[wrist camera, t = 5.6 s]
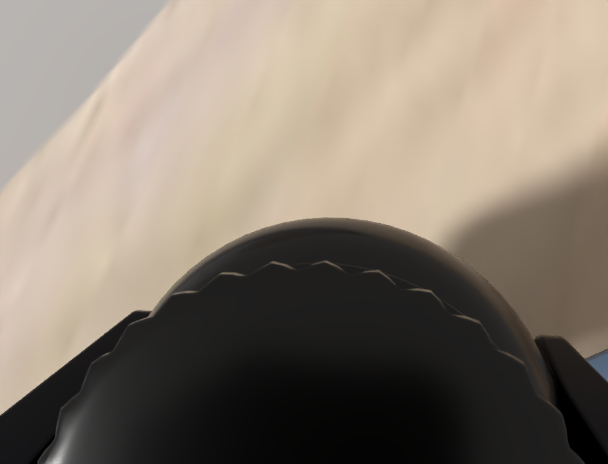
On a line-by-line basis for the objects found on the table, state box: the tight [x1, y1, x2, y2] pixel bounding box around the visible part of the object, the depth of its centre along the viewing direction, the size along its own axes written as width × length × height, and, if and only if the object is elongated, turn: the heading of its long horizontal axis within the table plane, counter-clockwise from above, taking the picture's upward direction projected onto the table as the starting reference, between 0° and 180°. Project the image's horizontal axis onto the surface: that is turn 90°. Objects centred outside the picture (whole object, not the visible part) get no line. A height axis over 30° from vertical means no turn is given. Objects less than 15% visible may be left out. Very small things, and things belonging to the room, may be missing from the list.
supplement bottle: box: [38, 218, 585, 464], centre depth 10 cm, size 7×7×12 cm
